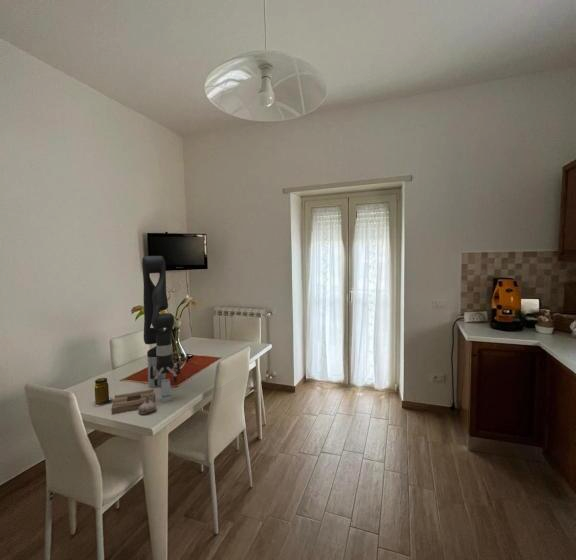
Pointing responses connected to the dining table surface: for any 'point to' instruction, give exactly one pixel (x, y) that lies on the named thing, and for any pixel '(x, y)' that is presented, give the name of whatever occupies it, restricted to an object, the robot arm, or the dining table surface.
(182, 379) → the dining table surface
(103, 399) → the condiment
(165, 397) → the peg
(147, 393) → the board
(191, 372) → the dining table surface
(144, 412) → the garlic bulb
